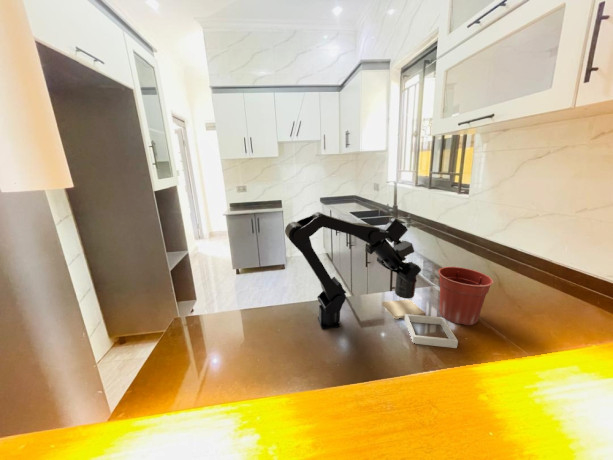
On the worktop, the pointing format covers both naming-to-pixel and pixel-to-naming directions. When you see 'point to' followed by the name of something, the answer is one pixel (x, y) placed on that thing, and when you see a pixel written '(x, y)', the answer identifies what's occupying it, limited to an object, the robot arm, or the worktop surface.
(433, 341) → the frame
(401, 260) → the robot arm
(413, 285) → the supplement bottle
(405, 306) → the birch board
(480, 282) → the flower pot
